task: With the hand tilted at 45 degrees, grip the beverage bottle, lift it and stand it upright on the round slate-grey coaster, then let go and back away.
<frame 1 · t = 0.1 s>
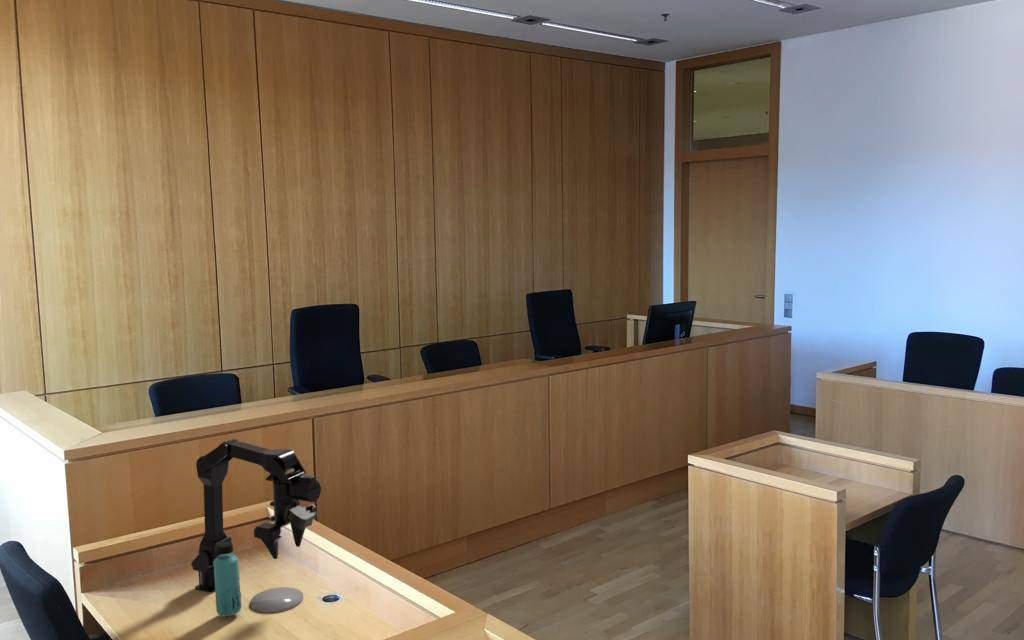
hand: (286, 552, 226), 15 cm above the table, tool pointing down, fingers open, 9 cm apart
beverage bottle: (229, 616, 221), on the table
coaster: (277, 601, 229), on the table
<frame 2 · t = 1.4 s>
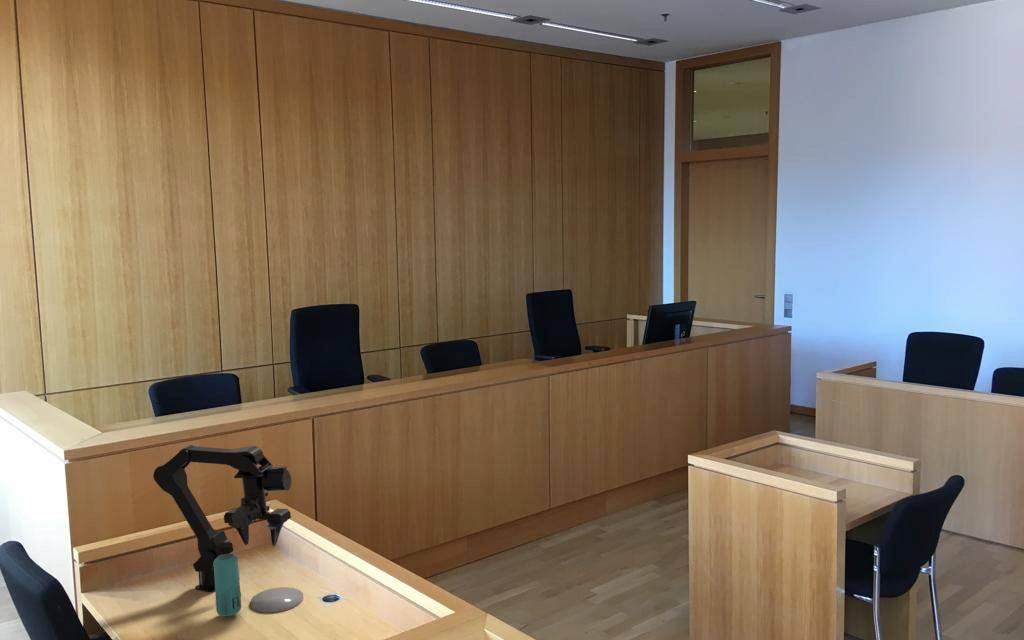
hand: (260, 545, 235), 13 cm above the table, tool pointing down, fingers open, 9 cm apart
nothing on the table moved.
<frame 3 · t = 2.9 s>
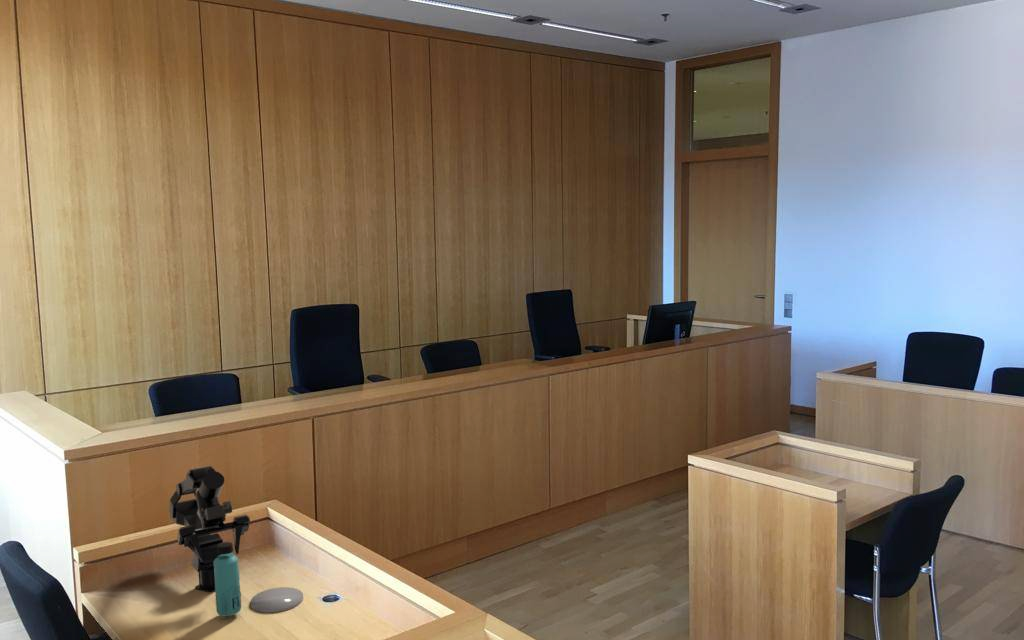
hand: (220, 557, 226), 14 cm above the table, tool tilted 45°, fingers open, 9 cm apart
nothing on the table moved.
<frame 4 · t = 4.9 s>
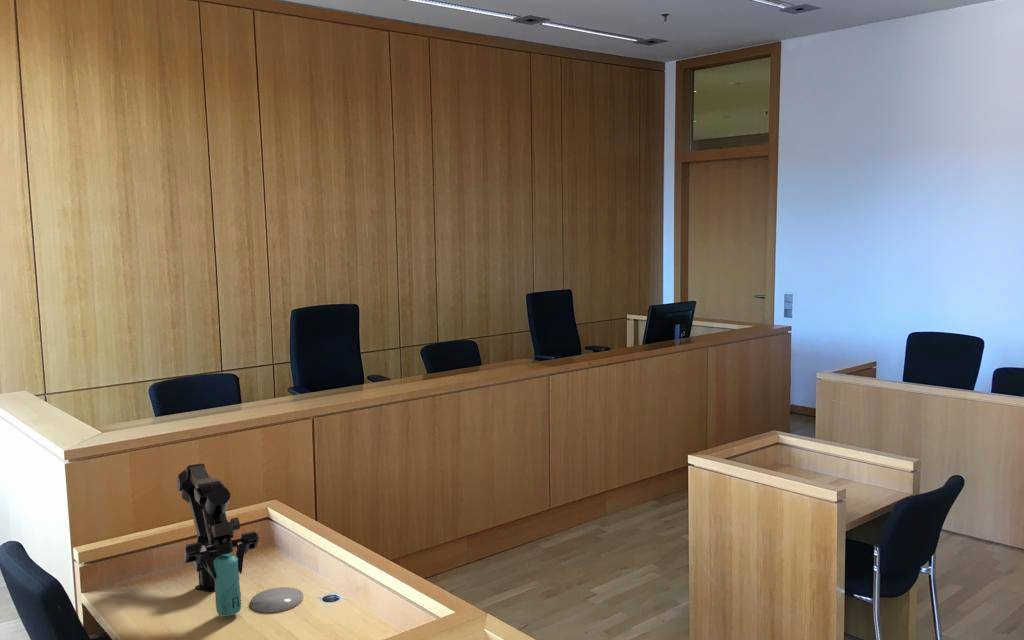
hand: (228, 576, 218), 12 cm above the table, tool tilted 45°, fingers closed on beverage bottle, 6 cm apart
beverage bottle: (229, 616, 221), on the table, touching gripper
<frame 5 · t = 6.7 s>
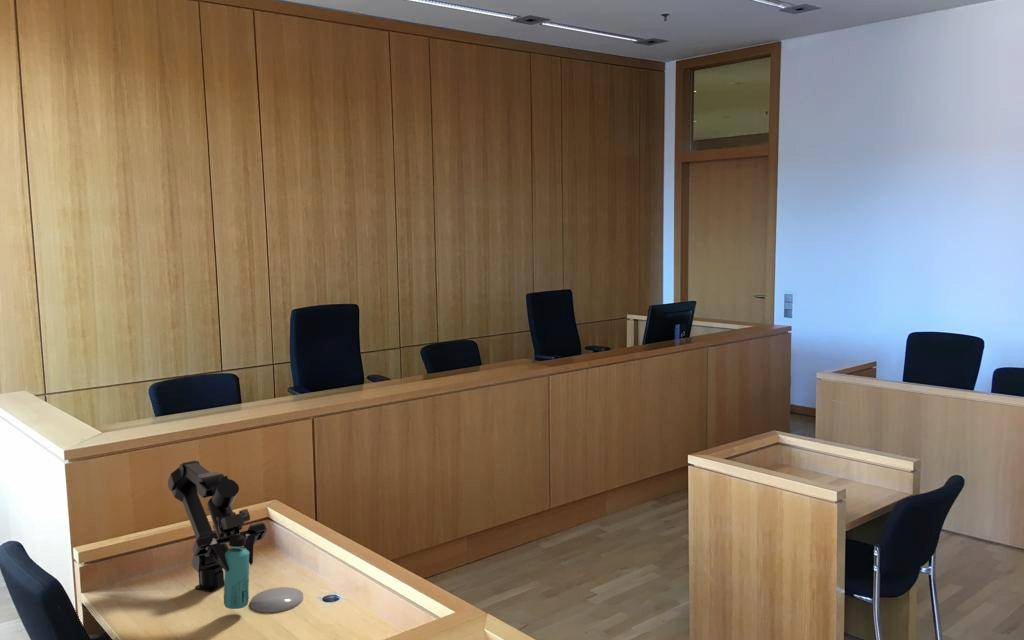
hand: (239, 567, 219), 13 cm above the table, tool tilted 45°, fingers closed on beverage bottle, 6 cm apart
beverage bottle: (235, 610, 221), point 1 cm above the table, touching gripper
when the fingers open (13 cm above the table, at t = 8.6 s): beverage bottle stays where it is, resting on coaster.
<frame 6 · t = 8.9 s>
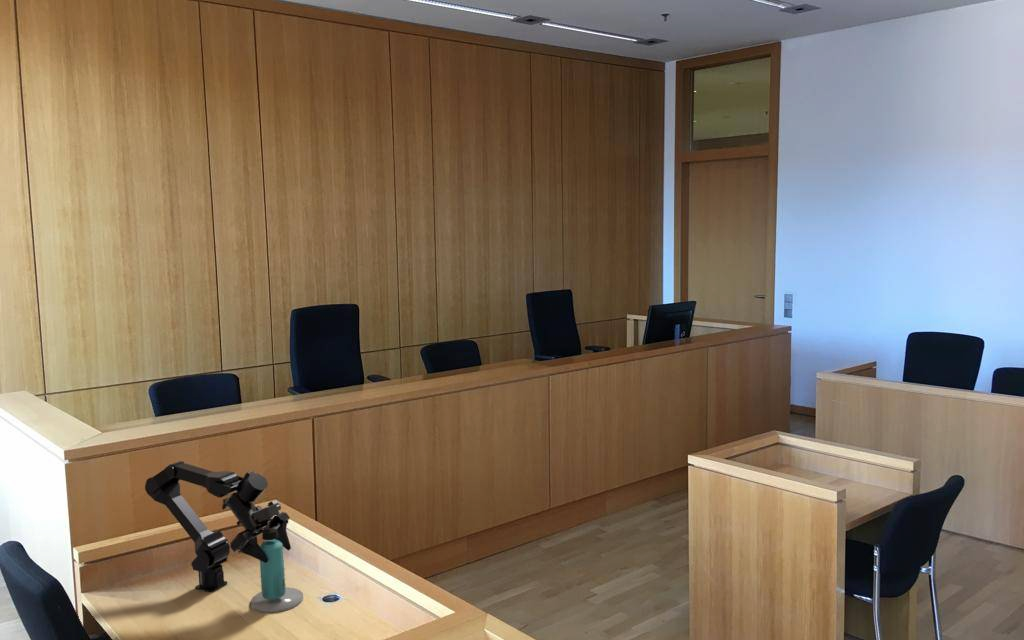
hand: (278, 555, 227), 13 cm above the table, tool tilted 45°, fingers open, 9 cm apart
beverage bottle: (273, 600, 228), point 1 cm above the table, touching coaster
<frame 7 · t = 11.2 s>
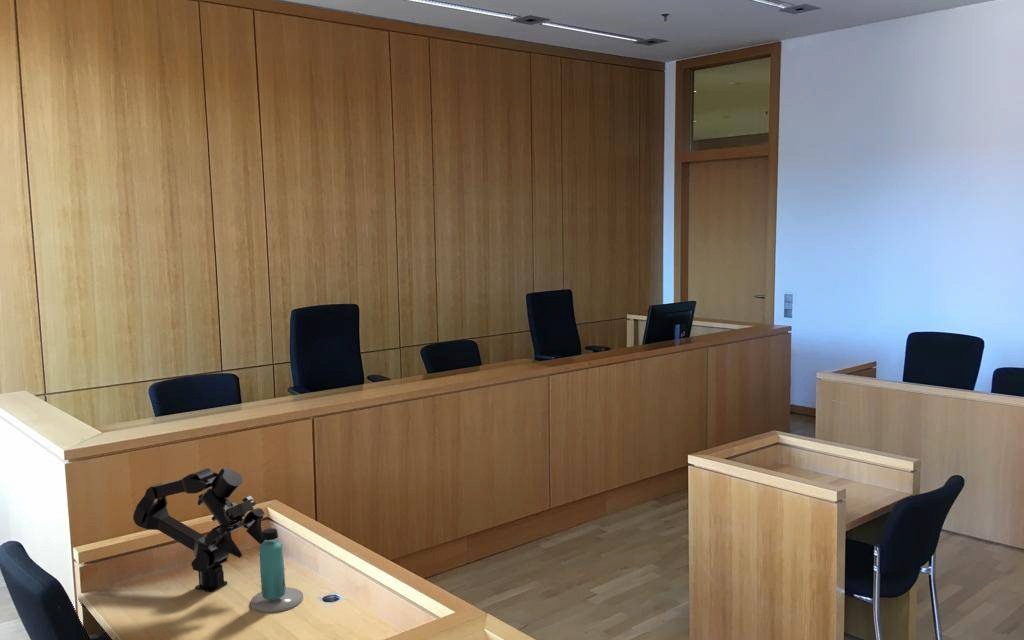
hand: (252, 550, 231), 13 cm above the table, tool tilted 45°, fingers open, 9 cm apart
nothing on the table moved.
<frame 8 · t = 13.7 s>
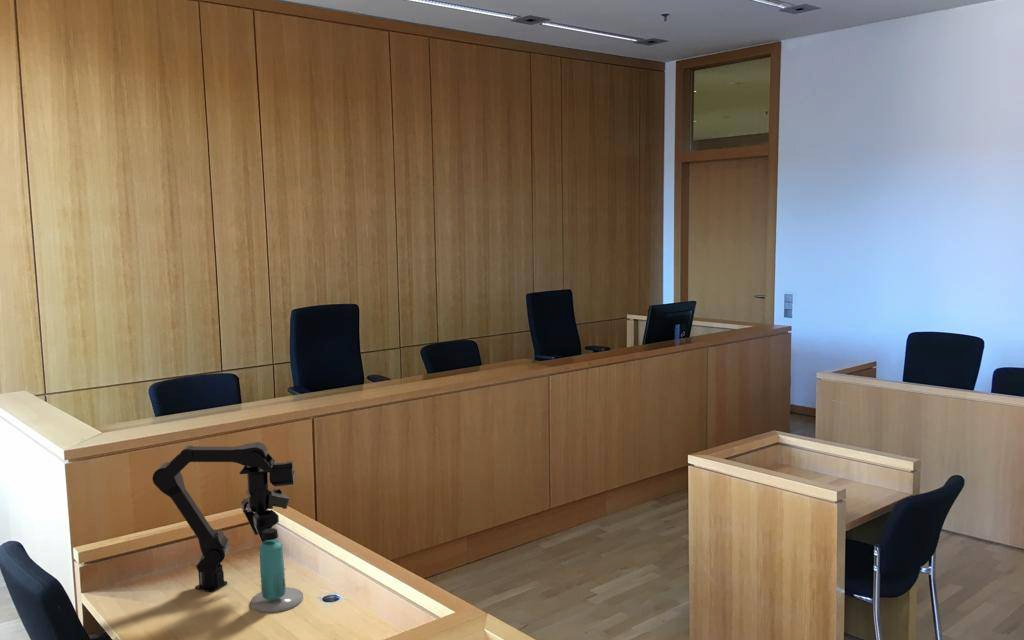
hand: (260, 539, 240), 13 cm above the table, tool pointing down, fingers open, 9 cm apart
nothing on the table moved.
at the end: beverage bottle 1.1 cm off-centre on the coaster, point 0.6 cm above the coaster's base; beverage bottle tilted 0°; the gripper is holding nothing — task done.
